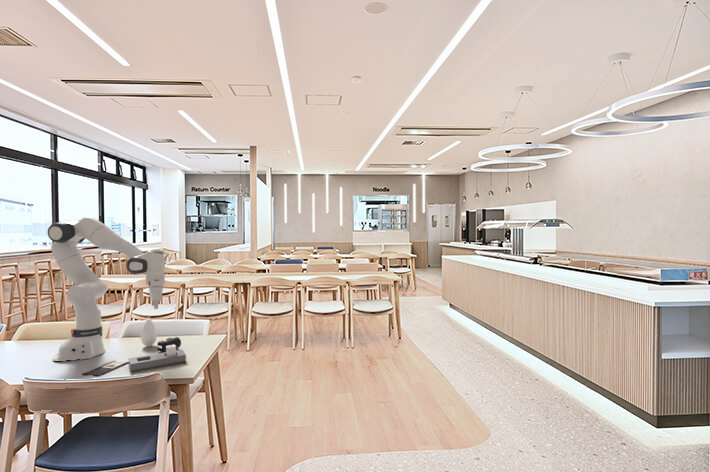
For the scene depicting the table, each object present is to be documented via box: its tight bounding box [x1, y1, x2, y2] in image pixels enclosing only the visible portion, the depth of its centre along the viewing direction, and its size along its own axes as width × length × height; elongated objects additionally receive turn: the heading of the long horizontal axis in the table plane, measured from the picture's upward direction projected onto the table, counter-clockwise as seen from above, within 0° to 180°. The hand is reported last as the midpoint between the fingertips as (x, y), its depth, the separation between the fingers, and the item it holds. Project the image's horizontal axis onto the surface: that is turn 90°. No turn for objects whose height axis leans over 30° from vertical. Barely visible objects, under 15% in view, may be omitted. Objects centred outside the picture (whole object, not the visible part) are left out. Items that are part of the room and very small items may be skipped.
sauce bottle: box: [140, 314, 158, 348], centre depth 223 cm, size 8×8×18 cm
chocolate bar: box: [81, 360, 129, 377], centre depth 188 cm, size 9×1×18 cm
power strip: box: [128, 349, 187, 374], centre depth 193 cm, size 24×10×4 cm, turn 124°
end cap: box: [157, 336, 182, 354], centre depth 213 cm, size 10×7×7 cm
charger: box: [166, 345, 177, 357], centre depth 196 cm, size 4×4×7 cm
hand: (154, 307), depth 208 cm, fingers open, 8 cm apart
